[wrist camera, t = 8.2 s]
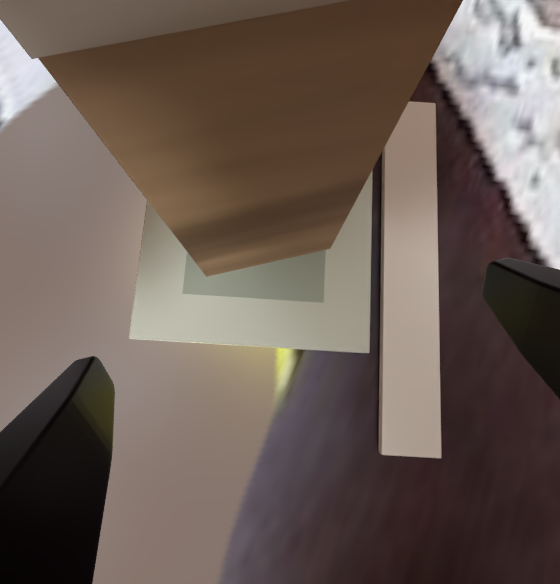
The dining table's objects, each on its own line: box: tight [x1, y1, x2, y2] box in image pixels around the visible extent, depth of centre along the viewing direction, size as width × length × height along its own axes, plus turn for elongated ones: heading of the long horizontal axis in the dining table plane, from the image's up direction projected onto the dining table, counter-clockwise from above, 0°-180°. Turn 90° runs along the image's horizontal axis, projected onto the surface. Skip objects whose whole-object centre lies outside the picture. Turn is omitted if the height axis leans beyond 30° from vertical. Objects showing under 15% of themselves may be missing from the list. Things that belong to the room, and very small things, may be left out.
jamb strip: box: [378, 101, 441, 458], centre depth 17 cm, size 16×2×1 cm, turn 177°
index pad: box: [129, 170, 373, 353], centre depth 17 cm, size 11×10×1 cm
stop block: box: [0, 0, 463, 277], centre depth 10 cm, size 6×6×13 cm
